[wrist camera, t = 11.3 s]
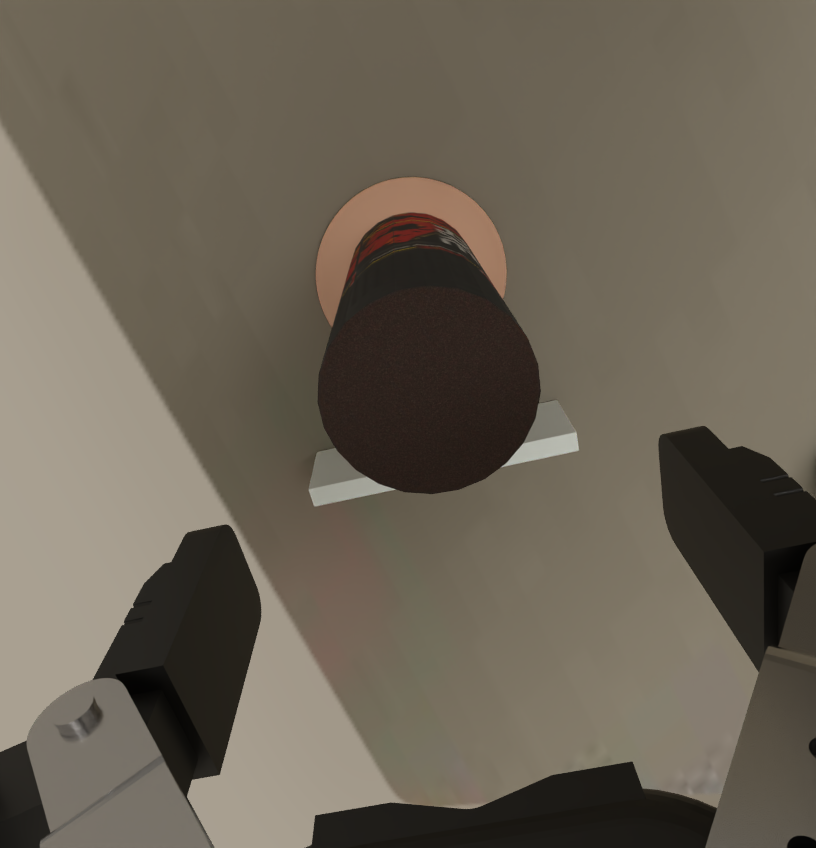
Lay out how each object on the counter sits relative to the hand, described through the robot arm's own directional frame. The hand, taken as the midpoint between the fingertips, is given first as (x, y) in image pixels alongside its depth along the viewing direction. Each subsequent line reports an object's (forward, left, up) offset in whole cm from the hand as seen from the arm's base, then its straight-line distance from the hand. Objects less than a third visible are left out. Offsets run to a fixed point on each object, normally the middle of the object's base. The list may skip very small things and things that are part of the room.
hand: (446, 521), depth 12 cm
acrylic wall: (+8, -1, -22) cm, 23 cm away
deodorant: (0, 0, -21) cm, 21 cm away
